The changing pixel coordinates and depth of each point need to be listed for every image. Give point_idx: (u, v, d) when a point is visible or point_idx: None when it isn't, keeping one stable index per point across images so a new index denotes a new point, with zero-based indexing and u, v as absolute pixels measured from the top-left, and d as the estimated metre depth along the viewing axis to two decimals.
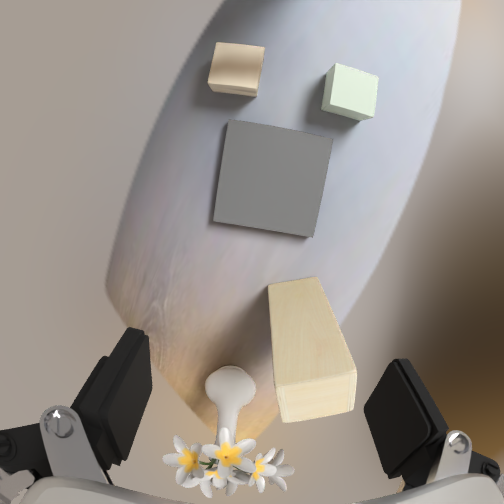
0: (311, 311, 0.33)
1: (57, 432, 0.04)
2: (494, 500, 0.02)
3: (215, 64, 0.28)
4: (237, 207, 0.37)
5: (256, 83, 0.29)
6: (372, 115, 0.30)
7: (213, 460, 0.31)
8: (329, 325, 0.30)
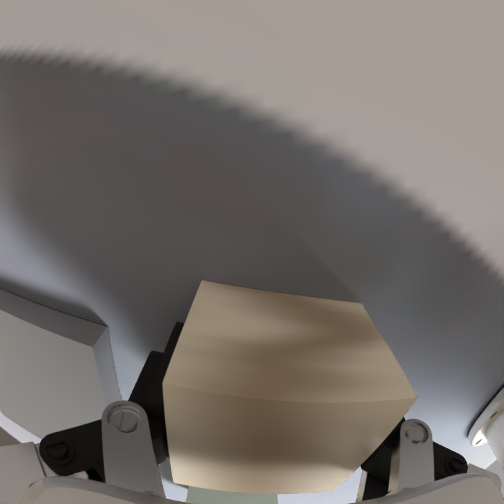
0: None
1: (119, 425, 0.05)
2: (494, 500, 0.02)
3: (286, 413, 0.05)
4: None
5: (192, 485, 0.07)
6: None
7: None
8: None
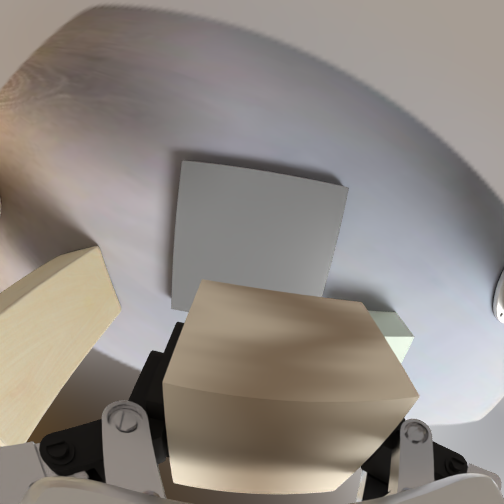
0: (69, 338, 0.18)
1: (119, 425, 0.05)
2: (494, 500, 0.02)
3: (287, 413, 0.05)
4: (205, 199, 0.23)
5: (192, 485, 0.07)
6: None
7: None
8: (56, 377, 0.16)
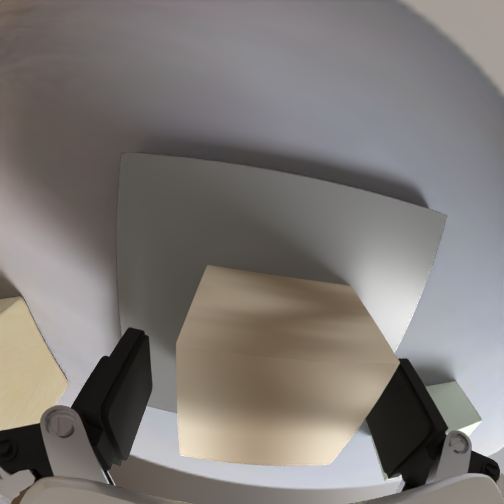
0: None
1: (58, 432, 0.04)
2: (494, 500, 0.02)
3: (282, 372, 0.07)
4: (169, 235, 0.11)
5: (197, 456, 0.08)
6: (388, 479, 0.13)
7: None
8: None
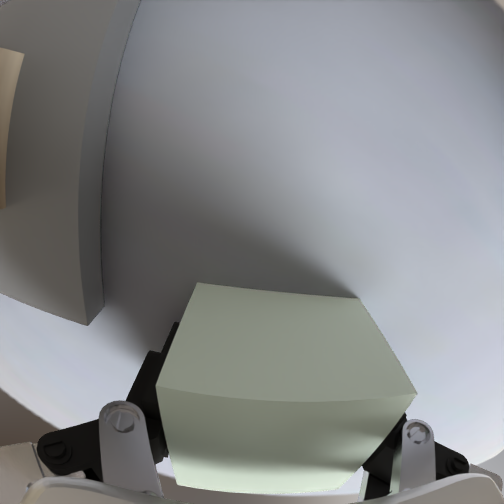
0: None
1: (116, 425, 0.05)
2: (494, 500, 0.02)
3: None
4: None
5: None
6: (182, 483, 0.07)
7: None
8: None
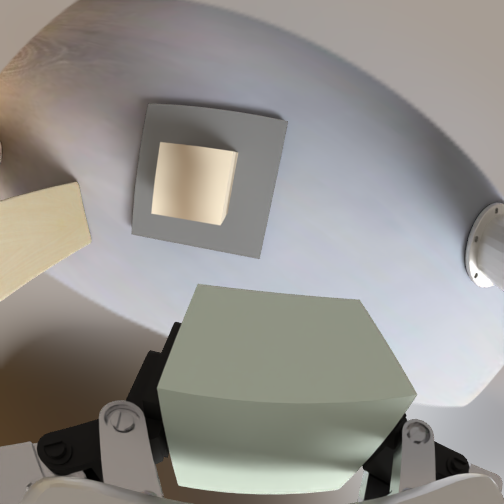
0: (38, 246, 0.20)
1: (116, 425, 0.05)
2: (494, 500, 0.02)
3: (190, 151, 0.20)
4: (164, 133, 0.25)
5: (158, 213, 0.22)
6: (182, 484, 0.07)
7: None
8: (19, 274, 0.17)
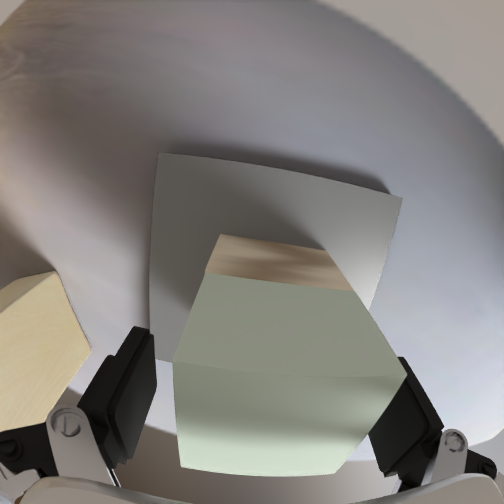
0: (21, 400, 0.10)
1: (63, 430, 0.04)
2: (494, 500, 0.02)
3: None
4: (193, 212, 0.15)
5: None
6: (185, 465, 0.08)
7: None
8: None
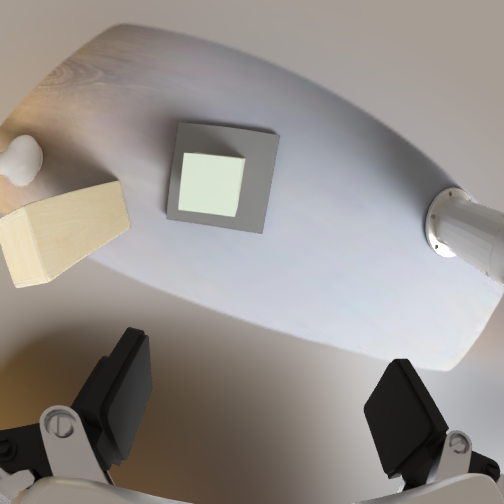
0: (97, 227, 0.31)
1: (57, 432, 0.04)
2: (494, 500, 0.02)
3: None
4: (191, 144, 0.35)
5: None
6: (180, 207, 0.28)
7: None
8: (85, 246, 0.28)
